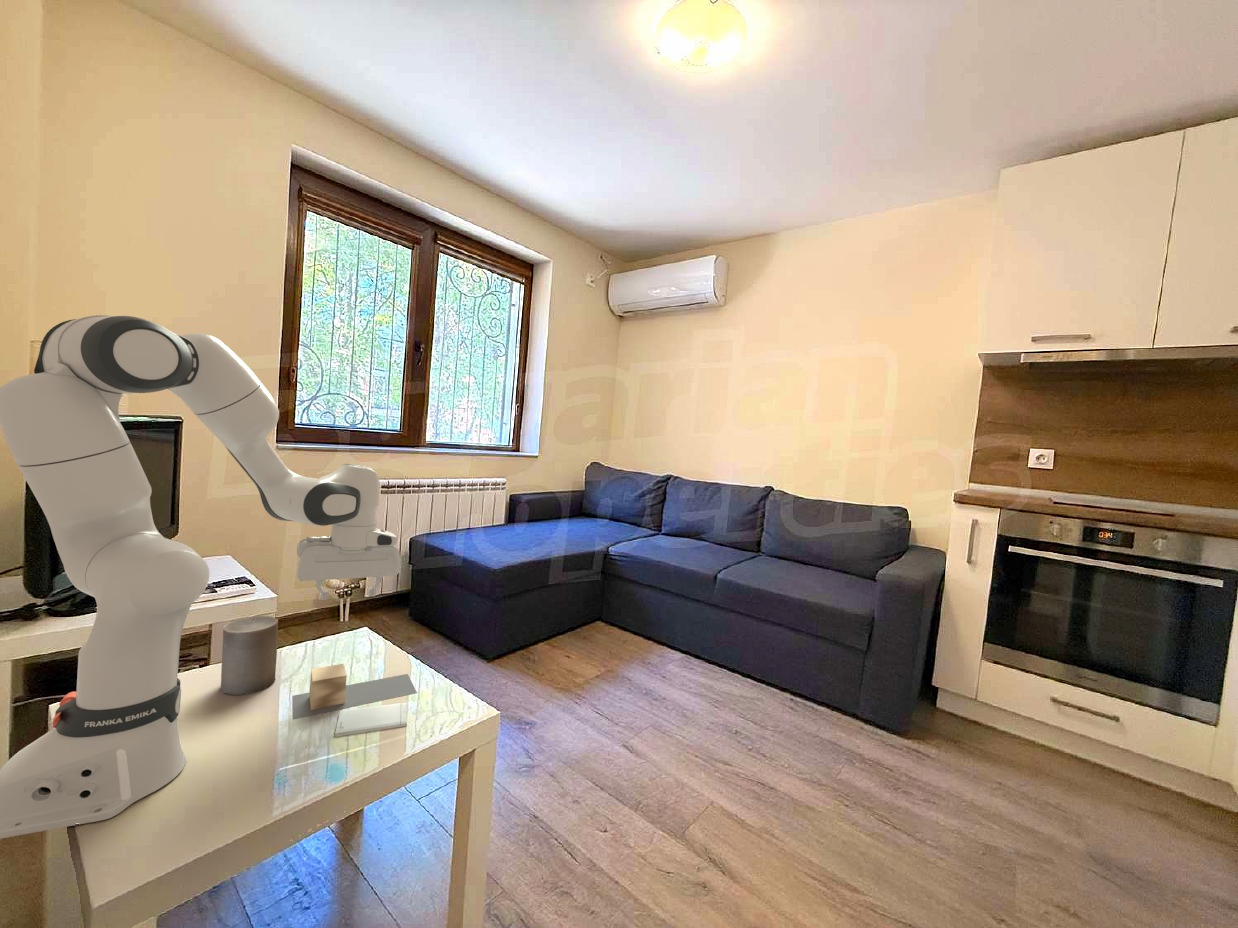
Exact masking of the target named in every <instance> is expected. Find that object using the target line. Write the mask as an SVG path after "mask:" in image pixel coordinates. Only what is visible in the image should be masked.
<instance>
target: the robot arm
mask: <svg viewBox="0 0 1238 928" xmlns="http://www.w3.org/2000/svg"><path fill="white" fill-rule="evenodd" d="M39 346H40V347H39V352H38V356H37V359H36V363H35V366H34V369H33V371H34V372H33V373H32V374H27V375H23V376H20V377H17V378H14V379H12V380H10V381H8V382H7V383H4V384H3V385H2V386H1V387H0V429H1V431H2V434H3V437H4V440H5V442H6V445H7V446H8V448H9V452H10V454H11V455H12V457H13V459H14V462H15V463H16V465H17V467H18V468H19V471H20V472H21V474H22V475H23V477H24V479H25V481H26V483H27V485H28V486H29V488H30V490H31V492H32V494H33V495H34V497H35V499H36V501H37V502H38V505H39V506H40V508H41V509H42V512H43V514H44V515H45V518H46V520H47V523H48V525H49V528H50V531H51V535H52V539H53V541H54V543H55V546H56V550H57V553H58V555H59V558H60V561H61V563H62V565H63V568H64V572H65V574H66V576H67V579H69V581H70V583H71V584H72V585H73V586H74V588H76V589H77V590H79V591H80V592H82V593H83V594H86V595H88V596H90V597H93V598H94V599H95V602H96V615H95V619H94V622H93V625H92V628H91V631H90V634H89V636H88V638H87V640H86V642H85V643H83V644H82V646H81V647H80V649H79V651H78V657H77V659H78V660H77V679H76V691H71V692H68V693H67V694H66V695H64V696H63V698H62V699H61V700H60V702H59V706H58V708H57V709H56V710H55V713H54V717H53V718H52V729H51V730H49V731H47V732H45V734H43V735H42V736H40V737H38V738H37V739H36V740H34V741H33V742H31V743H30V744H29V743H28V745H26V746H25V747H23V748H22V749H20V750H19V751H18V752H17V753H15V754H14V755H13V756H12V757H11V758H9V759H8V760H7V762H6V763H5V764H4V765H3V766H2V767H1V768H0V840H1V839H5V838H11V837H16V836H23V835H30V834H33V833H39V832H46V831H49V830H56V829H61V828H67V827H71V826H76V825H75V824H76V823H81V824H80V825H82V824H84V825H85V824H91V823H94V822H100V821H104V820H105V821H106V820H108V819H111V818H113V817H114V816H116V815H119V814H120V813H121V812H123V811H124V810H125V809H127V808H128V807H129V806H131V805H132V804H133V803H135V802H137V801H139V800H141V799H142V798H144V797H147V796H149V795H150V794H152V793H154V792H156V791H157V790H160V789H161V788H162V787H164V786H165V785H168V783H170V782H171V781H172V780H174V779H175V778H176V777H177V776H178V775H179V774H180V773H181V772H182V770H184V767H185V766H186V762H187V761H186V757H185V754H184V752H183V749H182V745H181V741H180V735H179V734H180V733H179V730H178V729H179V728H178V716H179V714H180V711H181V701H182V688H181V680H180V678H178V674H179V673H178V672H179V660H180V647H181V646H180V645H181V638H182V632H183V631H184V630H183V628H184V627H185V623H186V620H187V617H188V615H189V612H190V609H191V607H192V605H193V603H194V602H196V601H197V600H198V599H199V598H200V597H201V596H202V594H203V593H204V592H205V590H206V588H207V586H208V584H209V581H210V569H209V566H208V564H207V562H206V561H205V559H204V558H203V557H202V556H201V555H200V554H199V553H198V552H196V551H195V550H194V549H193V548H192V547H190V546H189V545H187V544H185V543H183V542H180V541H176V540H173V539H170V538H166V537H164V536H163V534H161V533H160V532H159V530H158V529H157V527H156V525H155V523H154V522H155V521H154V519H153V518H154V517H153V514H152V512H153V511H152V508H151V507H152V506H151V496H152V491H153V490H152V486H151V484H150V482H149V480H148V477H147V475H146V473H145V471H144V468H143V467H142V464H141V462H140V460H139V458H138V455H137V454H136V451H135V449H134V447H133V445H132V443H131V441H130V439H129V437H128V435H127V433H126V431H125V428H124V427H123V425H122V423H121V419H120V418H121V417H120V415H119V405H120V401H121V399H122V397H123V395H124V394H148V393H156V392H160V391H161V392H162V391H164V390H169V391H170V392H172V393H173V394H174V395H176V396H177V397H178V398H180V399H181V400H182V401H183V403H184V404H185V405H186V406H187V408H189V410H190V411H191V412H192V413H193V414H194V416H195V417H197V419H198V420H199V421H200V422H201V423H202V424H203V425H204V426H205V427H206V428H207V429H208V430H209V431H210V432H211V433H212V434H213V435H214V436H215V437H217V439H218V440H219V441H220V442H221V443H222V445H224V447H225V448H226V450H227V451H228V452H229V454H230V455H231V456H232V458H233V459H234V460H235V462H237V464H238V465H239V466H240V468H241V469H242V470H243V471H244V472H245V473H246V475H247V476H248V477H249V479H250V480H251V481H252V482H253V484H254V485H255V486H256V489H257V490H258V493H259V496H260V500H261V502H262V505H263V507H264V510H265V511H266V513H267V514H269V516H271V517H272V518H274V519H277V520H279V521H284V522H297V523H301V524H305V525H311V526H318V527H324V526H325V527H326V526H330V525H331V533H330V536H318V537H317V536H307V537H306V538H304V539H301V540H300V541H299V542H298V543H297V548H296V555H297V556H298V558H299V559H298V564H297V567H296V568H297V570H296V578H297V579H298V580H299V581H301V582H309V581H311V582H312V581H314V583H315V587H316V589H317V590H318V592H319V601H324V600H325V601H327V600H329V590H328V589H324V588H323V586H322V585H324V581H328V580H330V581H331V580H344V579H345V580H347V579H348V580H349V579H362V578H363V579H365V578H366V579H367V578H373V579H374V581H375V582H374V583H373V585H372V586H368V588H367V590H368V591H367V597H376V595H377V589H378V588H379V587H380V585H381V583H383V578H384V577H395V576H397V575H399V573H400V571H401V554H400V550H399V548H398V547H397V546H396V545H397V543H398V538H397V536H396V534H394V533H393V532H391V531H387V530H384V529H380V528H378V527H377V525H378V520H377V510H378V508H379V504H380V489H381V488H380V477H379V474H378V472H377V471H376V470H375V469H374V468H372V467H369V466H364V465H359V464H356V463H355V464H354V463H344V464H341V465H340V467H339V468H337V469H336V470H334V471H332V472H331V473H328V474H326V475H324V476H320V477H318V478H314V477H309V476H304V475H300V474H298V473H295V472H293V471H292V470H290V469H289V468H288V467H287V466H286V464H285V463H284V462H283V460H282V459H281V457H280V456H279V455H278V453H277V452H276V451H275V449H274V448H273V447H272V445H271V444H270V442H269V441H268V435H269V434H270V433H272V432H273V431H274V429H275V428H276V426H277V424H278V421H279V418H280V410H279V408H278V405H277V403H276V401H275V400H274V398H273V396H272V394H271V393H270V391H269V390H268V389H267V388H266V386H265V385H264V384H263V382H262V381H261V380H260V379H259V378H258V377H257V375H256V374H255V373H254V371H253V370H252V369H251V368H250V366H248V365H247V364H246V363H245V362H244V360H242V359H241V358H240V357H239V356H238V355H237V354H236V353H235V351H233V350H232V349H231V348H230V347H229V346H227V345H226V344H225V343H224V342H223V341H222V340H220V339H219V338H218V337H215V336H213V335H211V334H207V333H187V334H183V335H179V334H177V333H175V332H173V331H171V330H170V329H168V328H166V327H164V326H162V325H161V324H159V323H156V322H153V321H151V320H148V319H145V318H141V317H136V316H129V315H115V316H112V315H102V314H97V315H90V316H83V317H79V318H73V319H69V320H65V321H62V322H60V323H58V324H56V325H55V326H53V327H52V328H50V329H49V330H48V331H47V332H46V334H45V335H44V337H43V339H42V341H41V343H40V345H39Z"/></svg>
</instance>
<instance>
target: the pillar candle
mask: <svg viewBox="0 0 1238 928" xmlns="http://www.w3.org/2000/svg"><path fill="white" fill-rule="evenodd" d="M278 628H279V619H278V618H276V617H274V616H269V615H258V616H248V617H243V618H240V619H236V620H233V621H231V622H228V623H227V624H224V625H223V626H222V630H223V631H222V649H221V653H222V654H221V669H220V670H221V674H220V675H221V676H220V677H221V678H220V691H221V693H223V694H227V695H234V696H240V695H241V696H243V695H248V694H253V693H255V692H258V691H262V690H264V689H266V688H269V686H271V685H272V684H274V683H275V681H276V679H277V678H276V672H277V671H276V670H277V655H278V634H279V633H278V632H279V630H278Z"/></svg>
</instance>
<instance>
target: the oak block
mask: <svg viewBox="0 0 1238 928" xmlns="http://www.w3.org/2000/svg"><path fill="white" fill-rule="evenodd" d="M347 677H348V675H347V672H346V668H345V665H344V663H339V664H333V665H327V666H322V667H315V668H312V669H310V680H309V681H310V682H309V692H310V694H309V699H310V707H311V710H315V709H320V708H325V707H329V706H334V705H339V704H343V703H345V692H346V685H347Z"/></svg>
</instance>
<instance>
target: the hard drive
mask: <svg viewBox="0 0 1238 928" xmlns="http://www.w3.org/2000/svg"><path fill="white" fill-rule="evenodd" d="M407 715H408V702H401V703H391V704H381V705H374V706H368V707H359V708H351V709H341V710H340V711H339V715H338V719H337V723H336V728H335V732H334V737H342V736H349V735H356V734H361V733H369V732H375V731H381V730H387V729H395V728H401V727H407V726H408V716H407Z"/></svg>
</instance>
